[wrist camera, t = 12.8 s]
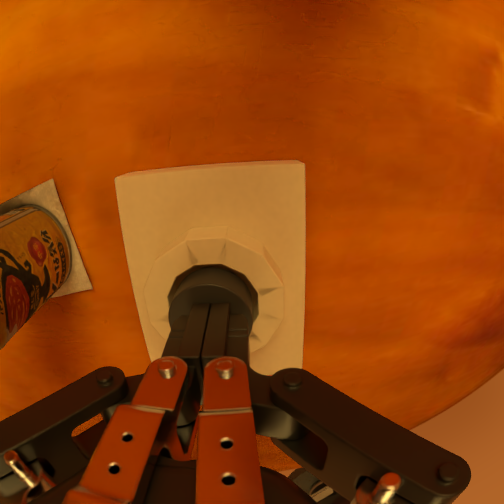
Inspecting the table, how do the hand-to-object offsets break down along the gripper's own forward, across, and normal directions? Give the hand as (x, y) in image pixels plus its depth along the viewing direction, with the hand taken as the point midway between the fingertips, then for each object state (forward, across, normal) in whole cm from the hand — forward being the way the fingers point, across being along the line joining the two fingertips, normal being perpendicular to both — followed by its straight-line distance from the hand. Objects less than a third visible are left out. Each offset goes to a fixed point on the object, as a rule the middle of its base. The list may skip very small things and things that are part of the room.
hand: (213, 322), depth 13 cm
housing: (+6, 0, 0) cm, 6 cm away
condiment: (+6, +13, -2) cm, 14 cm away
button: (+2, 0, 0) cm, 2 cm away
